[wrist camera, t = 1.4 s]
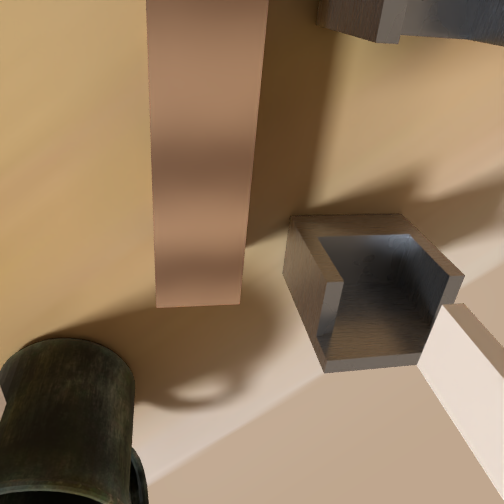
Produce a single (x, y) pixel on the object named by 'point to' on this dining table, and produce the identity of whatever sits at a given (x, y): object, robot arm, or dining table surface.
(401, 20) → the bracket
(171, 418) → the dining table surface
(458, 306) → the robot arm
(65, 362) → the mug
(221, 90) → the rail
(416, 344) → the bracket
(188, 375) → the dining table surface
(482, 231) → the dining table surface
